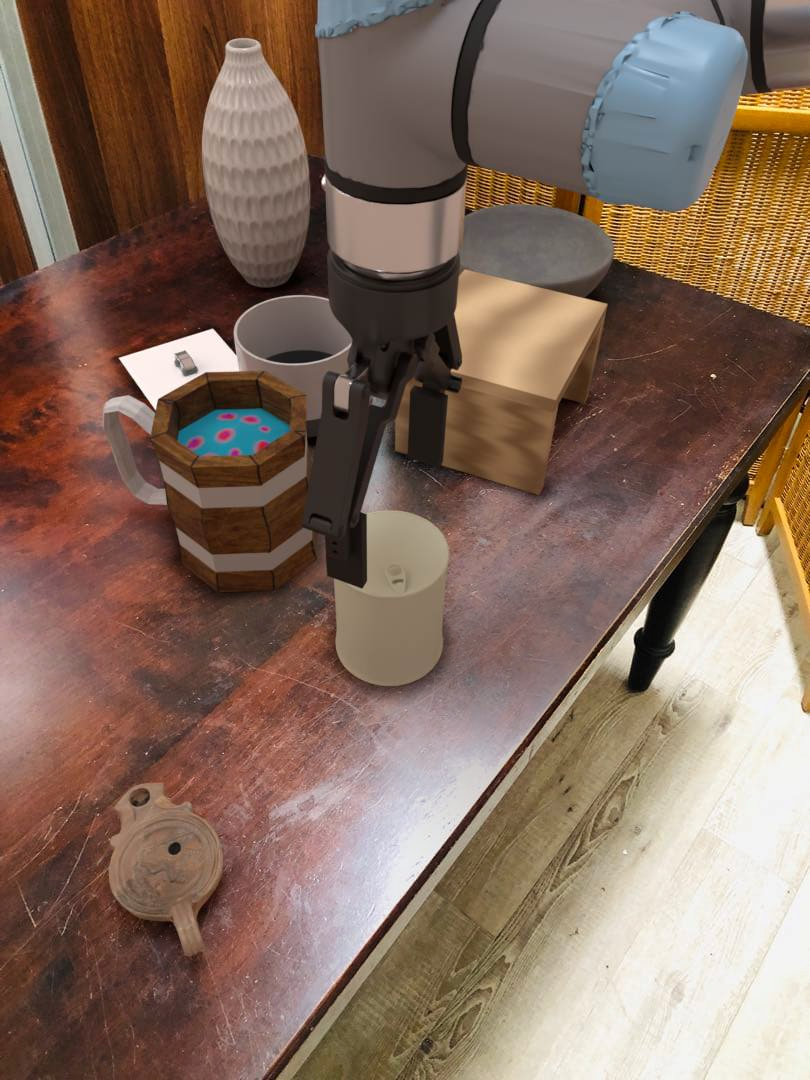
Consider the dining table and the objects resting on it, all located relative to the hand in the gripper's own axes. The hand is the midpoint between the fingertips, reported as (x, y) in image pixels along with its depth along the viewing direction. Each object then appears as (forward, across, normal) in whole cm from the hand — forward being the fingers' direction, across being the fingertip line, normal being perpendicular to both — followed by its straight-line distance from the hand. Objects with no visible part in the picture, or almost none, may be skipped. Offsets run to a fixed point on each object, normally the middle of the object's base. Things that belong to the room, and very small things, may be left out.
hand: (388, 515), depth 65 cm
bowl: (+16, -58, -8) cm, 60 cm away
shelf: (+15, -32, -2) cm, 35 cm away
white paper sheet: (+16, -26, -38) cm, 48 cm away
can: (+15, 0, 0) cm, 15 cm away
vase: (+16, -48, -40) cm, 64 cm away
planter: (+16, -25, -22) cm, 37 cm away
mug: (+16, -5, -20) cm, 26 cm away
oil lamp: (+16, +25, -5) cm, 30 cm away
